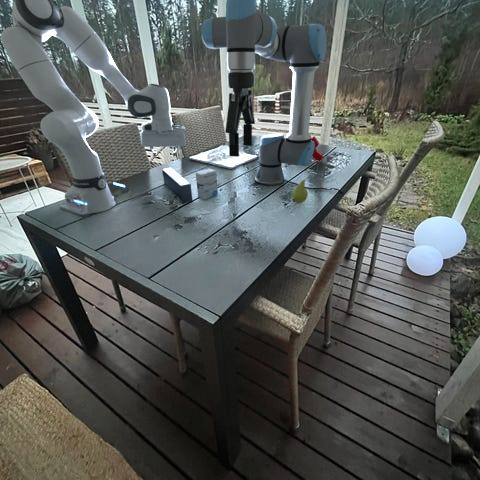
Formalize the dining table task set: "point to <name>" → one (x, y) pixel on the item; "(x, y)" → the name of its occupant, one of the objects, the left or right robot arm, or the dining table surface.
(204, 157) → the relief map
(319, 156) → the toy gun
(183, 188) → the bar
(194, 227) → the dining table surface
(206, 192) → the ink box
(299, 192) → the fruit
